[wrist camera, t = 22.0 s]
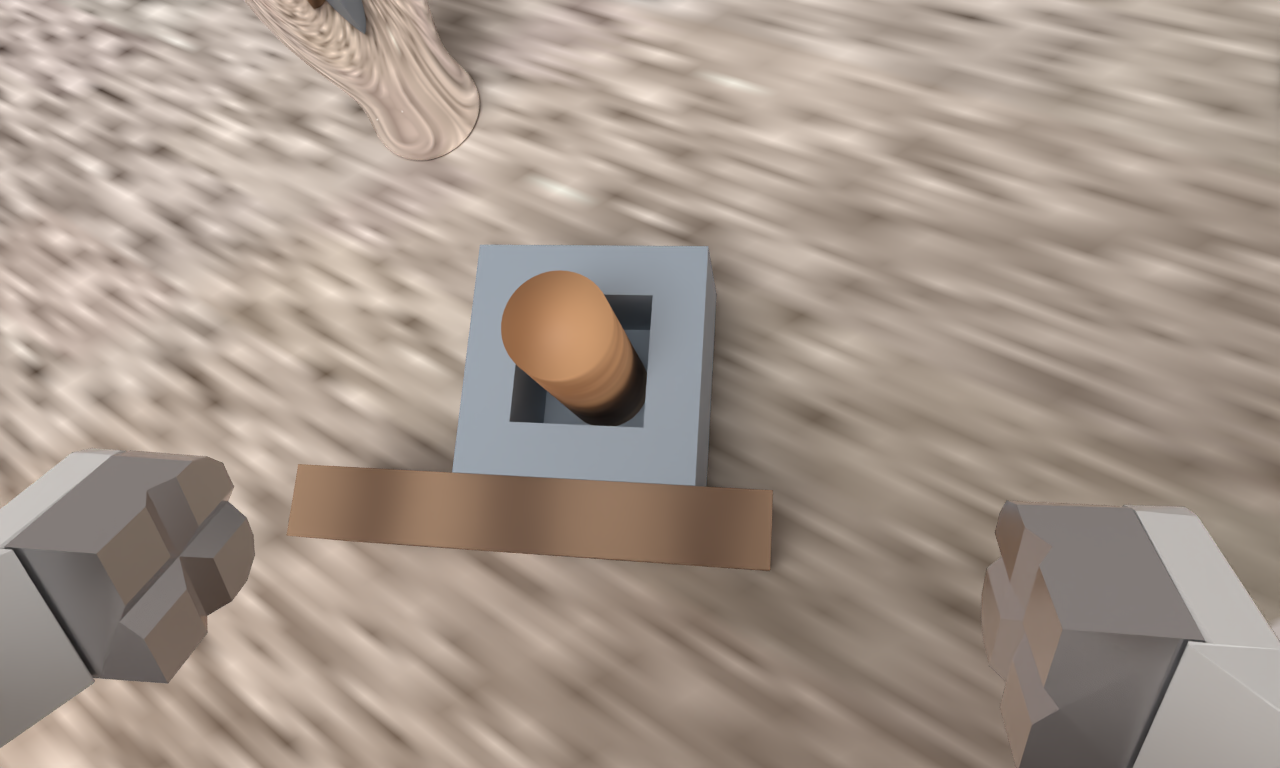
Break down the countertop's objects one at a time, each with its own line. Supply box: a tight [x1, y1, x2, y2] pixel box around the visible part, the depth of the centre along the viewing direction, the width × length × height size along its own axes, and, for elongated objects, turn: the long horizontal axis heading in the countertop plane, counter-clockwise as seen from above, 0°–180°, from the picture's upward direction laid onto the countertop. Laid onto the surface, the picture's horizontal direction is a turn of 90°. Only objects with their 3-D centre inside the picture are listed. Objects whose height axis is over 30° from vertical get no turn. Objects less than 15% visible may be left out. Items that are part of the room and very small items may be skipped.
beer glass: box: [244, 0, 480, 160], centre depth 37 cm, size 7×7×15 cm
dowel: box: [501, 270, 647, 426], centre depth 33 cm, size 4×4×10 cm
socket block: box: [452, 245, 716, 487], centre depth 36 cm, size 10×10×6 cm
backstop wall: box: [287, 464, 773, 571], centre depth 35 cm, size 20×3×6 cm, turn 86°
